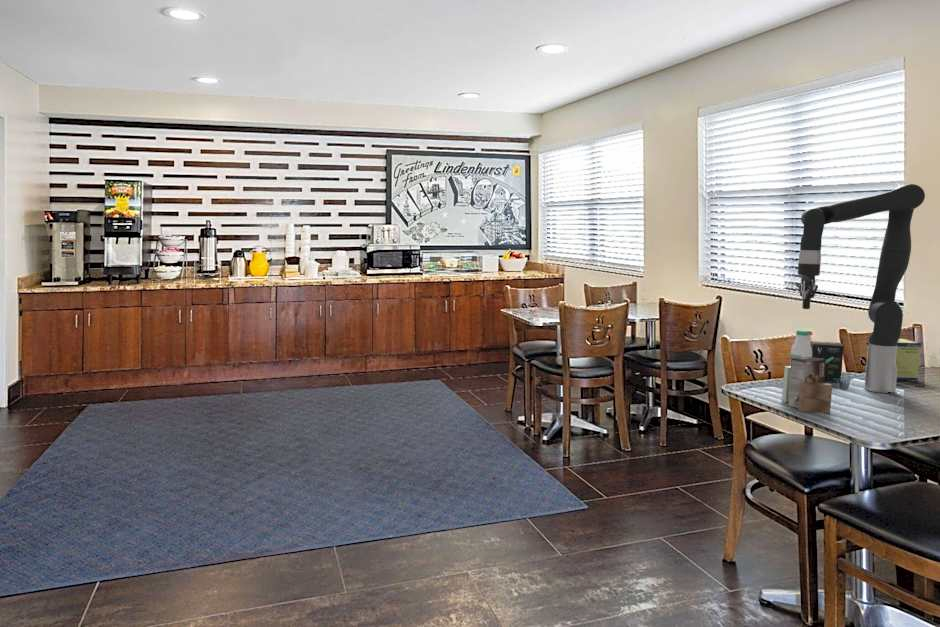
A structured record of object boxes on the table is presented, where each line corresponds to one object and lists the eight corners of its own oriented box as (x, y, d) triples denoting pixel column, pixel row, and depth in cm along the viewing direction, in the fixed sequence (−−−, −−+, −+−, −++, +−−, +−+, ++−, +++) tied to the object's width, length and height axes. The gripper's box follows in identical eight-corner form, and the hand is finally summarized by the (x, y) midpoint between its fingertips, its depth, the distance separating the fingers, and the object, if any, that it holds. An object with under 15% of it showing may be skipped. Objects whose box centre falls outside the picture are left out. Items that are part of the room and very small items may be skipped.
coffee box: (807, 403, 244) (811, 356, 242) (823, 407, 238) (827, 359, 236) (787, 405, 240) (790, 357, 238) (803, 409, 234) (806, 361, 232)
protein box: (918, 381, 285) (922, 342, 283) (878, 380, 285) (882, 341, 283) (902, 376, 295) (906, 338, 293) (864, 375, 295) (867, 337, 293)
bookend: (805, 401, 246) (808, 366, 245) (809, 403, 243) (812, 368, 242) (782, 400, 247) (784, 366, 245) (785, 402, 244) (788, 367, 242)
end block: (825, 410, 234) (828, 383, 233) (830, 412, 231) (832, 385, 230) (797, 409, 235) (799, 382, 234) (801, 411, 232) (803, 384, 231)
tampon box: (837, 378, 287) (840, 342, 286) (841, 383, 279) (844, 345, 277) (807, 376, 291) (810, 340, 289) (810, 380, 282) (813, 343, 280)
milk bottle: (805, 380, 283) (809, 329, 280) (813, 384, 275) (817, 332, 273) (785, 379, 284) (789, 328, 281) (792, 383, 276) (796, 331, 274)
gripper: (827, 263, 261) (823, 311, 263) (812, 262, 274) (808, 307, 276) (806, 263, 262) (802, 310, 264) (792, 261, 275) (788, 306, 277)
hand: (805, 308), depth 270 cm, fingers closed
